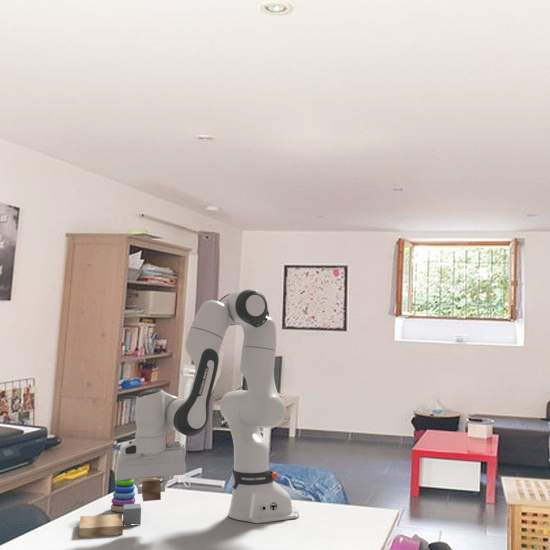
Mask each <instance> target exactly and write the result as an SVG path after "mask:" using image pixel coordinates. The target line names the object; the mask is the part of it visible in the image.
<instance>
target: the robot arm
mask: <svg viewBox="0 0 550 550" xmlns="http://www.w3.org/2000/svg"><path fill="white" fill-rule="evenodd" d="M269 312H270V311H269V306H268V301H267V299H266V297H265V296H264V295H263V293H261V292H260V291H259V290H255V289H245V290H243V289H241V290H237V291H233V292H231V293H228V294H226V295H224V296H223V297H221V298H220V299H219V300H215V299H210V300H206V301H204V302H203V303H202V304H201V306H200V307H199V309H198V311H197V312H196V314H195V317H194V319H193V321H192V322H191V325H190V328H189V330H188V333H187V336H186V341H185V351H186V353H187V354H188V356H189V358H190V359H191V360H192V362H193V364H194V368H195V369H194V370H195V371H194V376H193V379H192V383H191V385H190V386H191V387H190V390H189V394H188V396H187V398H186V399H185V398H181V397H178V396H175V395H172V394H170V393H167V392H166V391H164V390H163V389H162V388H157V387H156V388H155V387H153V388H149V389H144V390H143V391H141V392H140V393H138V395H137V397H136V402H135V418H134V419H135V425H136V430H135V437H134V439H132V440H128V441H126V442H124V443H122V444H120V446H119V450H120V453H119V454H118V456H117V460H116V467H115V477H116V480H117V479H118V480H129V479H134V484H133V485H134V486H135V487H136V489H137V495H142V494H143V487H142V485H141V486H140V485H139V483H140V479H152V478H159V477H163V481H162V484H161V493H164V492H166V486H167V484H168V481H169V479H170V478H169V477H172V476H173V477H174V476H184V474H185V473H186V471H187V470H186V460H185V458H186V455H187V447H186V445H185V444H183V443H182V442H176V443H175V442H172V443H171V442H170V443H169V442H168V443H167V442H166V441H167V438H166V437H167V436H166V435H167V433H166V432H167V430H172V431H175V432H178V433H180V434H182V435H184V436H186V437H195V436H198V435H200V434H201V433H202V432H203V431H204V430H205V429H206V427H207V425H208V423H209V420H210V419H209V417H210V414H209V412H210V409H209V408H210V401H211V397H212V393H213V388H214V386H215V385H214V384H215V380H216V377H217V376H216V375H217V373H218V369H219V361H220V360H219V358H220V357H219V355H220V352H221V347H222V344H223V341H224V338H225V336H226V331H227V330H228V328H229V327H230V326H241V328H242V330H243V331H242V332H243V342H242V348H241V356H240V363H239V365H240V366H239V371H240V374H241V375H242V377H244V378H245V381H246V385H247V390H243V389H237V390H232V391H227V392H225V394H224V395H223V396H222V398H221V400H220V404H219V412H220V414H221V415H222V417H223V418H224V419H225V421H226V423H227V425H228V428H229V430H230V434H231V438H232V443H233V469H232V473H231V475H232V476H231V486H232V493H231V501H230V506H229V510H228V512H227V516H228V517H230V518H231V519H234V520H238V521H244V522H249V523H253V524H262V523H270V522H276V521H283V520H284V521H285V520H293V519H297V518H299V516H300V514H299V510H298V508H296V507H294V506H293V503H292V499H291V495H290V494H289V493H288V491H286V490H285V489H284V488H283V487H282V486H280V484H279V483H277V482H276V481H275V480H278V478H279V474H278V473H277V472H276V471H273V470H271V469H270V468H269V444H268V442H267V441H266V440H265V439H264V437H263V435H262V433H261V430H260V428H263V429H266V428H267V429H268V428H274V427H278V426H279V425H281V424H282V423H283V421H284V420H285V417H286V414H287V413H286V412H287V407H286V404H285V401H284V400H283V399H282V398H281V396H280V394H279V392H278V390H277V386H276V381H275V363H276V353H277V352H276V350H277V325H276V322H275V319H273V318H272V317H270V313H269Z"/></svg>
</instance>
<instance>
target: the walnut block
mask: <svg viewBox="0 0 550 550" xmlns="http://www.w3.org/2000/svg"><path fill="white" fill-rule="evenodd" d="M161 485H162V484H161V480H160V478H159V477H153V478H142V479H141V486H142V487H143V494H141V497H142V502H150V501H151V502H152V501H160V500H162V495H161V493H162V492H161Z"/></svg>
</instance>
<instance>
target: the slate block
mask: <svg viewBox="0 0 550 550" xmlns="http://www.w3.org/2000/svg"><path fill="white" fill-rule="evenodd" d="M122 513H123V514H122V521H123V525H130V526H132V525H131V524H141V520H142V519H141V518H142V517H141V516H142V507H141V503H135V504H125V505H124V507H123V512H122Z"/></svg>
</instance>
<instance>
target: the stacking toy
mask: <svg viewBox="0 0 550 550" xmlns="http://www.w3.org/2000/svg"><path fill="white" fill-rule="evenodd" d="M135 487H136V486H135V484H134V479H129V480H118V479H117V478H116V480H115V486H114V488H113V489H114V492H113V494H112V495H113V497H112V499H111V503H112V504H111V505H110V509H111V511H113V512H114V513H123V507H124V505H125V504H136V498H135V496H136V491H135Z"/></svg>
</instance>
